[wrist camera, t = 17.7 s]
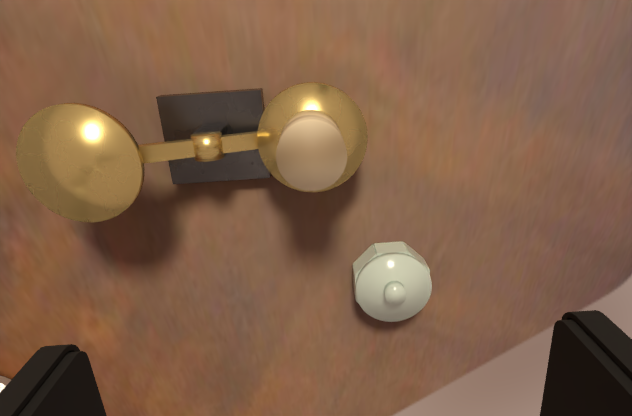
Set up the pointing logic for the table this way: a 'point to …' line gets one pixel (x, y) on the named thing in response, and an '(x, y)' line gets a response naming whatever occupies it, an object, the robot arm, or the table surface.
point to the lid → (391, 281)
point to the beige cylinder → (311, 151)
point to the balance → (170, 145)
